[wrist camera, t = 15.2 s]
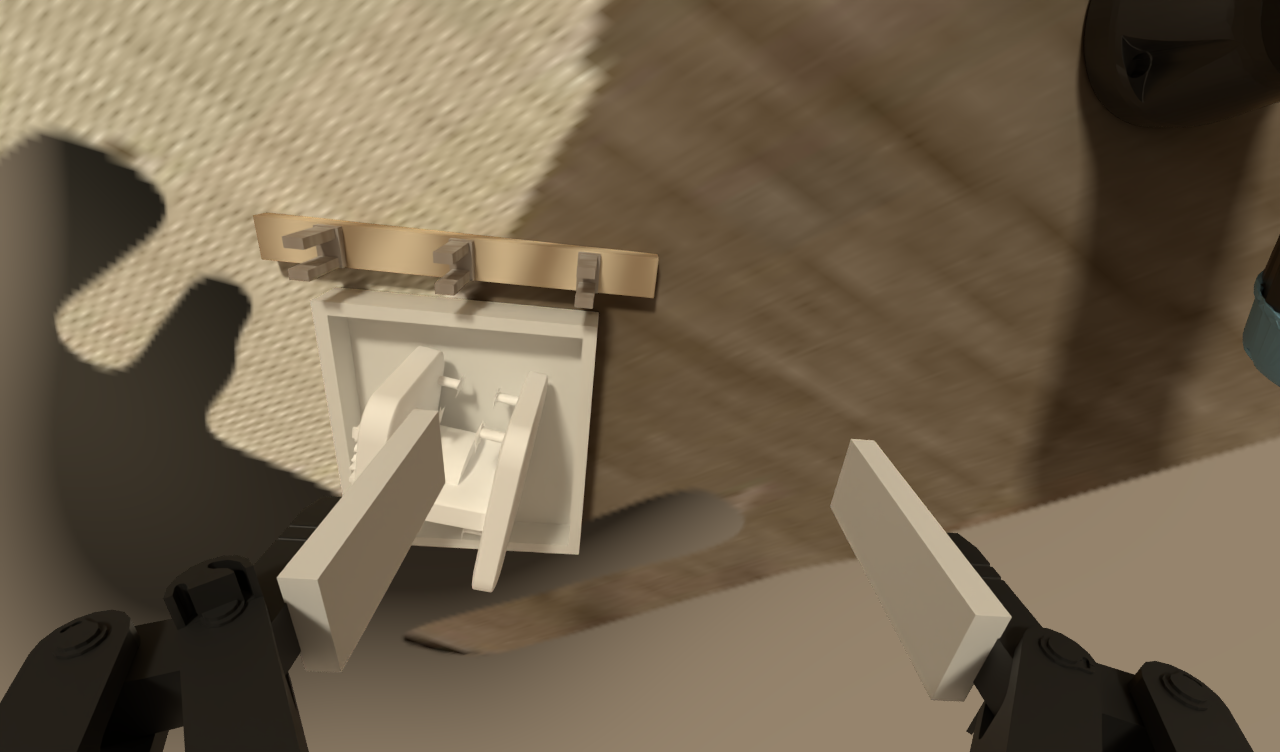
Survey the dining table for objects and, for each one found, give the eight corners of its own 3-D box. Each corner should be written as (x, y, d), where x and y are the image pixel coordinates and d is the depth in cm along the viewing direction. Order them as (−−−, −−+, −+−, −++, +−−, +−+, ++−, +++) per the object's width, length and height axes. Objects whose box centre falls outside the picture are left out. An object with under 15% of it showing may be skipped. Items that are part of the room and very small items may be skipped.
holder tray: (599, 312, 40) (597, 327, 37) (581, 527, 49) (578, 554, 46) (335, 286, 38) (309, 300, 35) (368, 515, 48) (350, 541, 44)
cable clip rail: (657, 254, 38) (663, 273, 33) (652, 292, 40) (657, 317, 34) (266, 212, 36) (204, 226, 31) (274, 254, 37) (216, 274, 32)
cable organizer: (518, 507, 47) (489, 614, 36) (400, 483, 45) (335, 588, 35) (553, 364, 41) (531, 443, 30) (419, 331, 39) (347, 402, 29)
